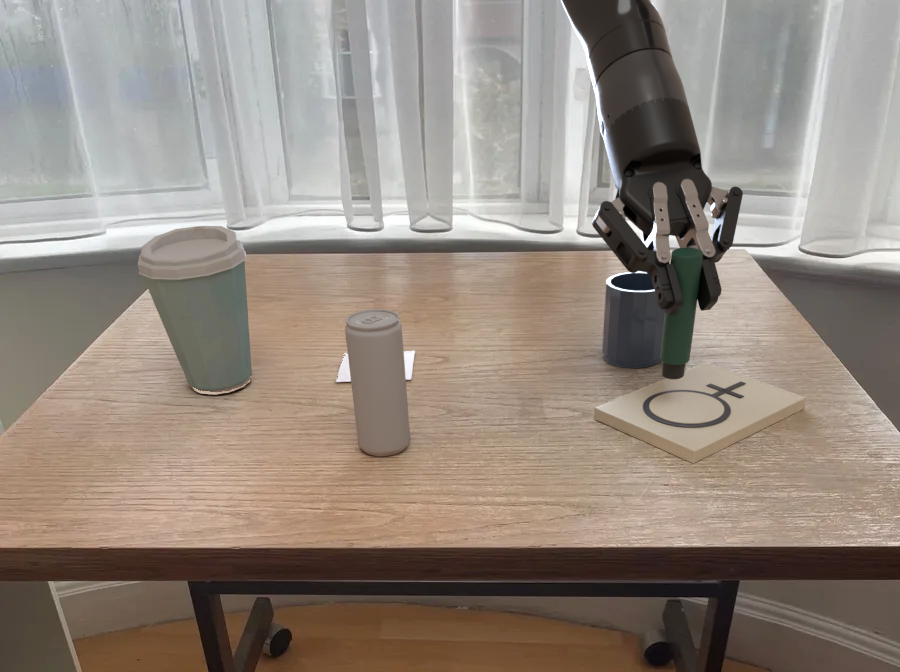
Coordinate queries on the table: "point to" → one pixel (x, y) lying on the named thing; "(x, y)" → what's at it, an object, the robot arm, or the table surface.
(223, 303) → the disposable coffee cup
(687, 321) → the marker
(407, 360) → the white piece
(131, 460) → the table surface
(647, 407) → the drawing board
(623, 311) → the pen cup
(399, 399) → the beverage can
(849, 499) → the table surface
